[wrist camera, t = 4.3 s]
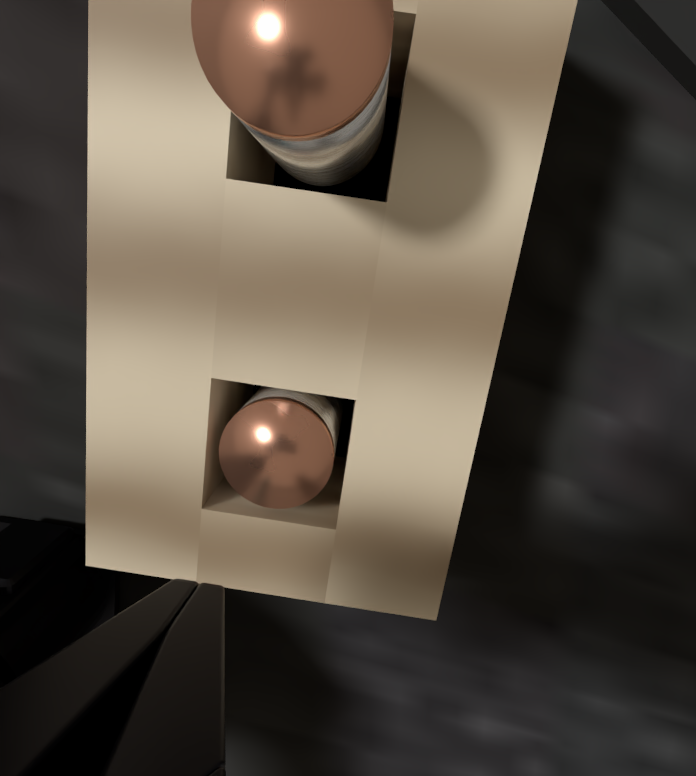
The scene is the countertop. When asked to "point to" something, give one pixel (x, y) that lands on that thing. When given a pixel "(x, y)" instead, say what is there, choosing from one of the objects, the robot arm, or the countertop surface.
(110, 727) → the robot arm
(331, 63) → the steel peg
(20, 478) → the countertop surface
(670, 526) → the countertop surface
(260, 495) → the steel peg
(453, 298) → the birch block
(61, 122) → the countertop surface
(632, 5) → the smart home device
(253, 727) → the countertop surface
